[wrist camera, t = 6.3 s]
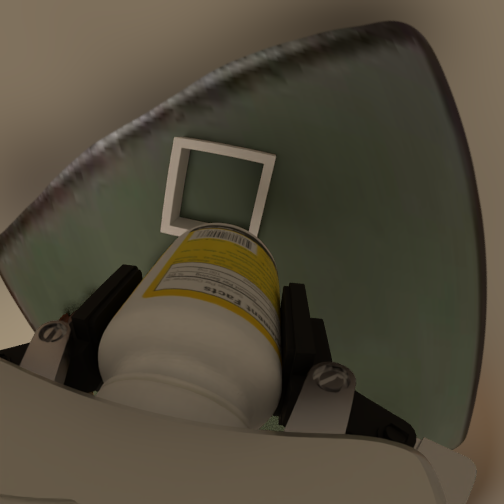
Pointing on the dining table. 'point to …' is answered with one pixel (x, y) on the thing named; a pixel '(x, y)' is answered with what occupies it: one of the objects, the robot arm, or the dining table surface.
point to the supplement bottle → (200, 333)
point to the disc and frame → (178, 174)
